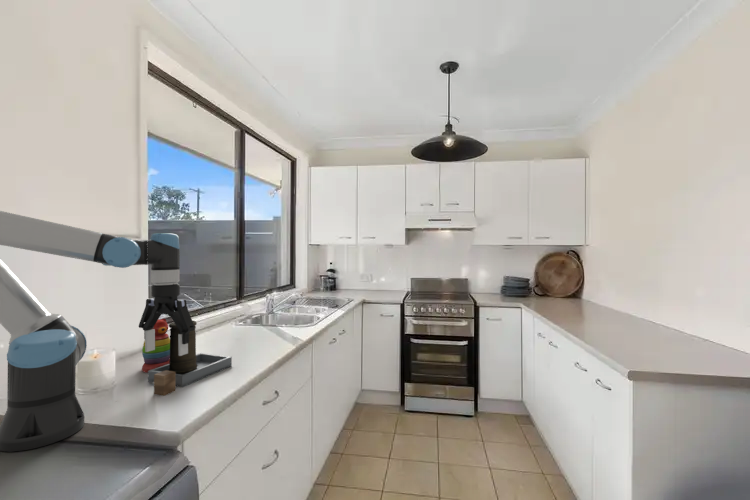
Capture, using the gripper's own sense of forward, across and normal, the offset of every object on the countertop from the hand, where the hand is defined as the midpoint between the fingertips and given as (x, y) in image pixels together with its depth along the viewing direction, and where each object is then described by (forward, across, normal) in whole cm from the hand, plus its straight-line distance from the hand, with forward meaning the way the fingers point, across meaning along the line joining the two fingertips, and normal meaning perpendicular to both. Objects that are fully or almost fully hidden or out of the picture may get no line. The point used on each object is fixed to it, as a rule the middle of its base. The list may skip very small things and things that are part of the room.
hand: (166, 352), depth 108 cm
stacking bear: (+12, +24, -17) cm, 32 cm away
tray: (+12, +6, -16) cm, 21 cm away
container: (+12, +6, -12) cm, 18 cm away
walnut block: (+12, 0, 0) cm, 12 cm away
